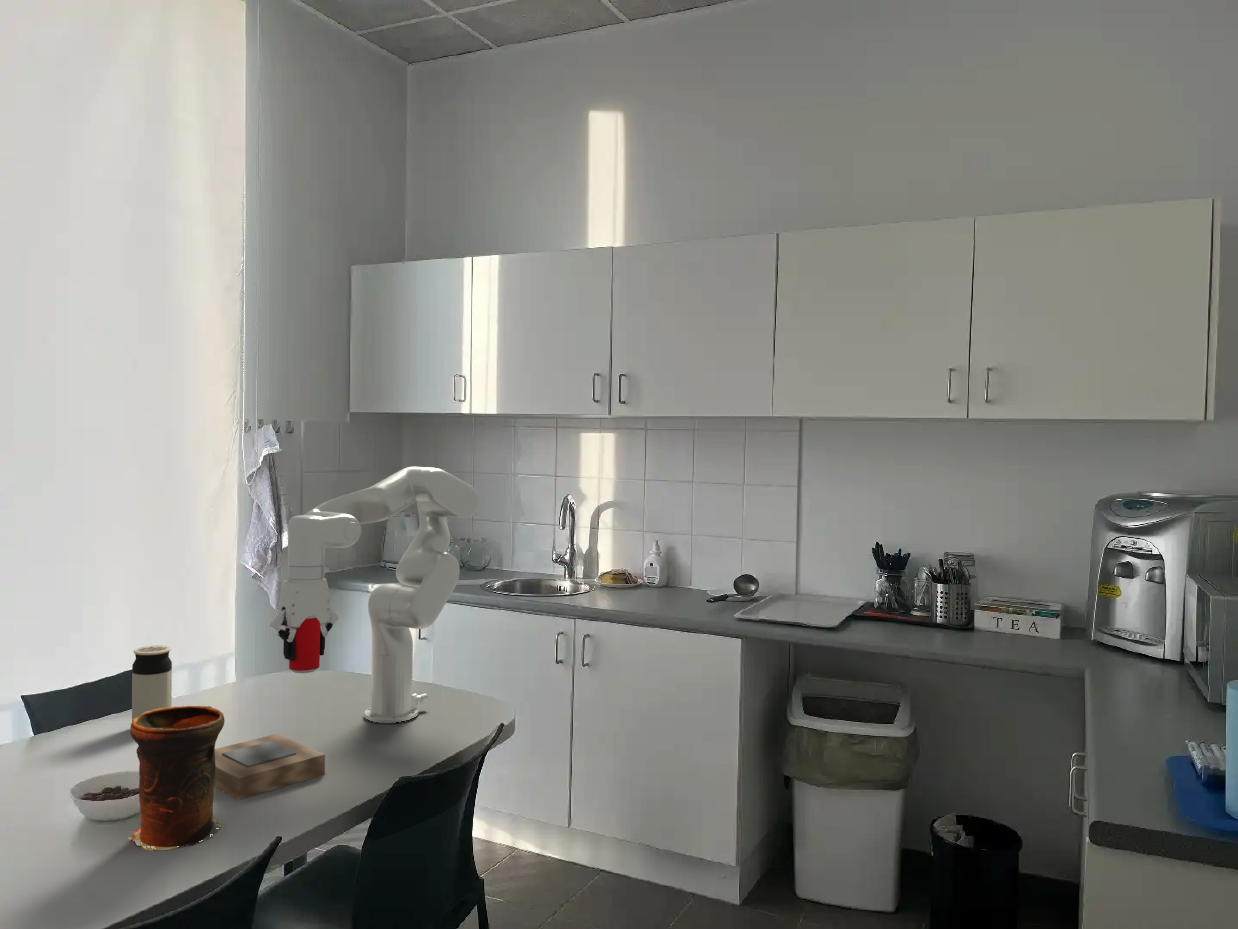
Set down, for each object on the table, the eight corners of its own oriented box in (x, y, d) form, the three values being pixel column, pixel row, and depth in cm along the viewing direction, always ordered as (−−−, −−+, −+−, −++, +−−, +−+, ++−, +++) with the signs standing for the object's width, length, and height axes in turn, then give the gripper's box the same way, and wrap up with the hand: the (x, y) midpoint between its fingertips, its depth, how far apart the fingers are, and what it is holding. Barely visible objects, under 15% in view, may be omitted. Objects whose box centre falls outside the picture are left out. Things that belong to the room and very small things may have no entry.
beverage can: (309, 665, 208) (310, 611, 207) (325, 670, 204) (326, 615, 203) (283, 670, 203) (284, 614, 202) (299, 676, 199) (300, 619, 198)
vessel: (148, 814, 167) (152, 702, 166) (232, 816, 168) (236, 704, 167) (110, 851, 152) (114, 728, 151) (202, 853, 153) (206, 731, 152)
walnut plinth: (276, 752, 200) (277, 732, 200) (324, 774, 188) (325, 752, 188) (192, 775, 186) (192, 753, 186) (238, 799, 174) (238, 776, 174)
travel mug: (170, 732, 211) (170, 652, 210) (130, 735, 208) (130, 654, 207) (172, 721, 218) (173, 644, 218) (133, 724, 216) (134, 646, 215)
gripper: (331, 567, 212) (330, 648, 212) (259, 574, 198) (257, 660, 199) (351, 571, 207) (349, 653, 207) (277, 579, 194) (276, 666, 194)
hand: (304, 656), depth 203 cm, fingers closed on beverage can, 6 cm apart
